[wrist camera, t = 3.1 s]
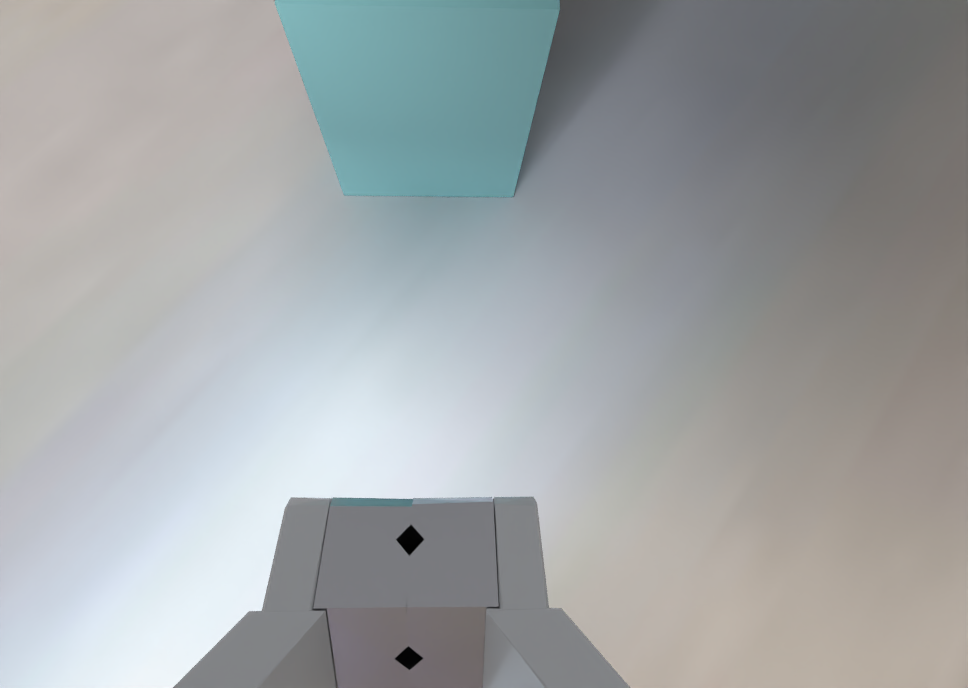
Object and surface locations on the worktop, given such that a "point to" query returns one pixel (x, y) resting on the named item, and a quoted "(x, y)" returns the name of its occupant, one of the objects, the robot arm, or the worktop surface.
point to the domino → (423, 89)
